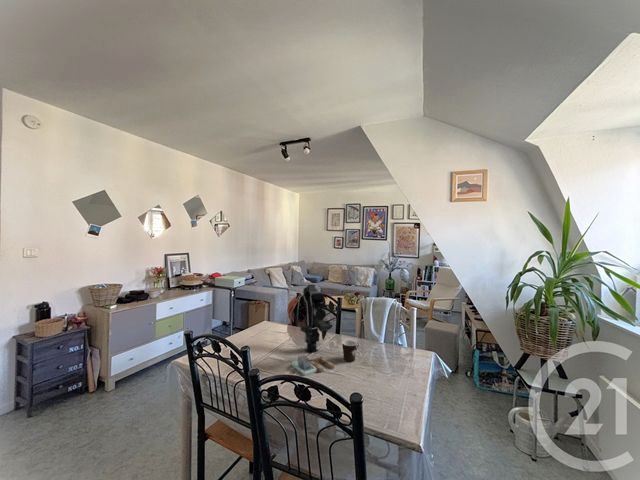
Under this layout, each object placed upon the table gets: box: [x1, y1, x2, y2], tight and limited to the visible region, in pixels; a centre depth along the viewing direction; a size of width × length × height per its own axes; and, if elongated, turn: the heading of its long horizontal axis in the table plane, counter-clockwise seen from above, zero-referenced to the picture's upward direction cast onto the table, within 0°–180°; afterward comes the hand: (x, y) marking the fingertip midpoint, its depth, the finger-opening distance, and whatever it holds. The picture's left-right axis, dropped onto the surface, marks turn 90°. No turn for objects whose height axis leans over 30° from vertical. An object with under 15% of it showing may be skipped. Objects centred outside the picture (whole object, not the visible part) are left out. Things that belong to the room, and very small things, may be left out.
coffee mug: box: [341, 339, 360, 363], centre depth 165 cm, size 12×9×10 cm
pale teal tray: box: [291, 360, 318, 377], centre depth 153 cm, size 14×8×2 cm, turn 34°
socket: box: [309, 356, 335, 373], centre depth 157 cm, size 12×9×2 cm
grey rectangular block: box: [297, 354, 311, 372], centre depth 153 cm, size 8×4×5 cm, turn 29°
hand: (316, 341), depth 162 cm, fingers open, 9 cm apart
